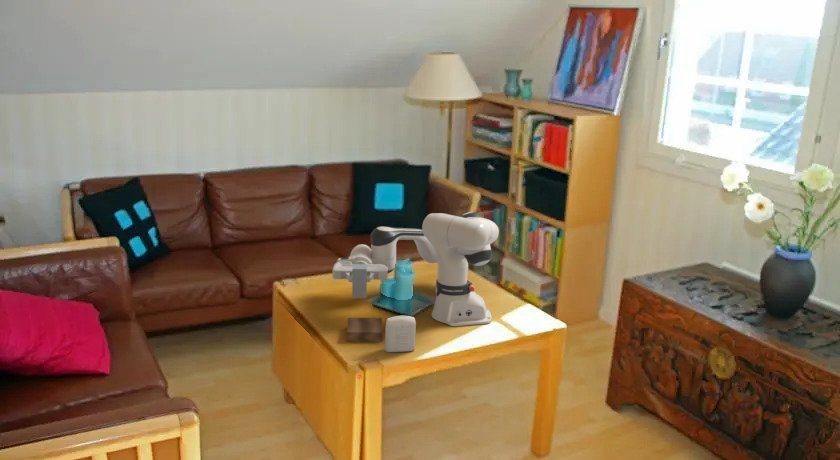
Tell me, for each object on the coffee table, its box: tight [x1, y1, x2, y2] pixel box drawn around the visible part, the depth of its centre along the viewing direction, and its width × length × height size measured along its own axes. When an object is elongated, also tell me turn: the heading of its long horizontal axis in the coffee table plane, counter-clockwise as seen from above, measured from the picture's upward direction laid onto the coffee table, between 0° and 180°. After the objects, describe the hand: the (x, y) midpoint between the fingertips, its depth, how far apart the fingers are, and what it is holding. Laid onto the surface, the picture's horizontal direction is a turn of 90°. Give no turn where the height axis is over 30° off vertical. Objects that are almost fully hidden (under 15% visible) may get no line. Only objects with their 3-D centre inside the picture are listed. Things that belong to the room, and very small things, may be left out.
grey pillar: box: [351, 264, 368, 299], centre depth 261 cm, size 5×5×11 cm
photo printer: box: [384, 315, 417, 353], centre depth 244 cm, size 10×4×12 cm, turn 103°
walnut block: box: [346, 317, 383, 343], centre depth 256 cm, size 12×12×4 cm
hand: (359, 280), depth 260 cm, fingers closed on grey pillar, 5 cm apart
